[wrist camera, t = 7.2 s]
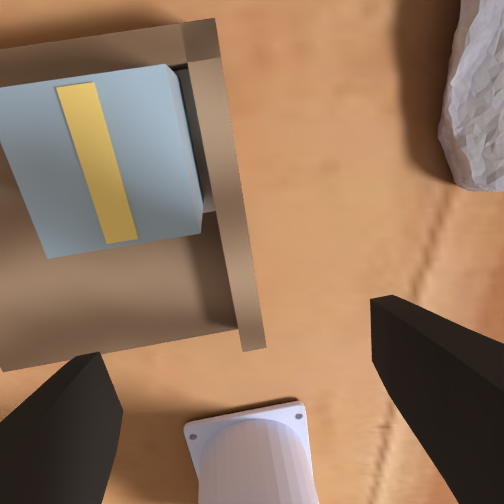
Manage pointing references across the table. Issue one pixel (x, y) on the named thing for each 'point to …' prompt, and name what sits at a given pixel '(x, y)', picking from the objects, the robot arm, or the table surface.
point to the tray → (138, 255)
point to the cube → (103, 159)
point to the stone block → (476, 98)
